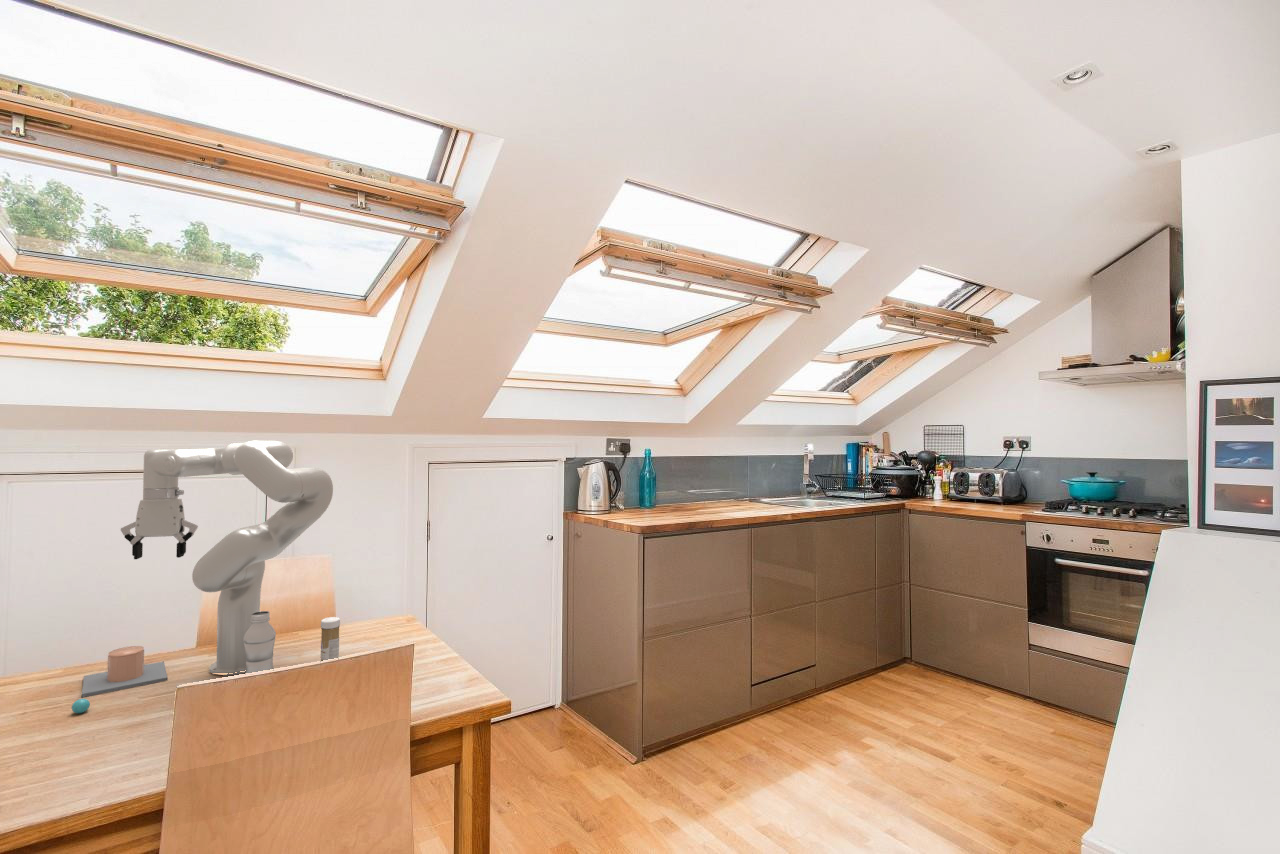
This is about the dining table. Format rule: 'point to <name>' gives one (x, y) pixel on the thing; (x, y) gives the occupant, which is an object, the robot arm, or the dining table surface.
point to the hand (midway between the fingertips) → (159, 557)
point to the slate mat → (101, 685)
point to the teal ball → (80, 706)
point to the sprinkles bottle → (330, 638)
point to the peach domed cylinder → (125, 663)
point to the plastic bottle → (259, 643)
